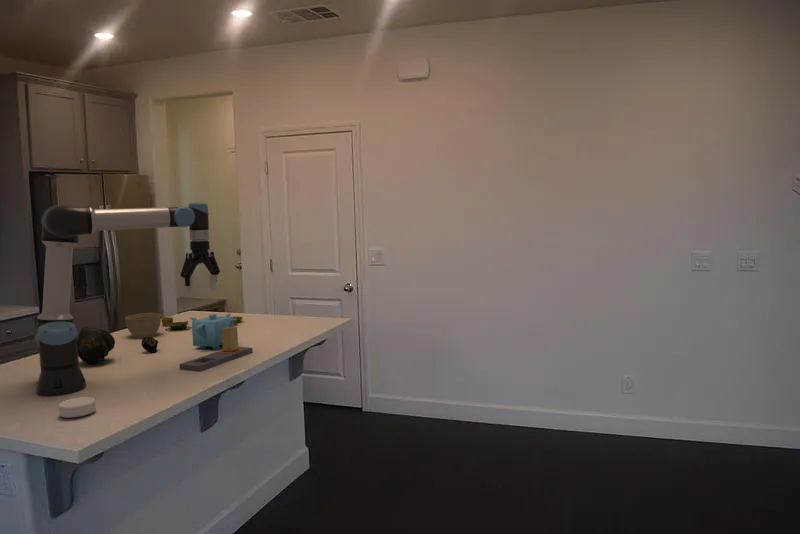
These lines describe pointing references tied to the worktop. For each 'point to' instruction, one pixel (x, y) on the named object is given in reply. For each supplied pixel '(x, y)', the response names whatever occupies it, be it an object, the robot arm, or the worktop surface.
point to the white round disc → (77, 407)
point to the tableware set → (183, 324)
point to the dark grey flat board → (214, 359)
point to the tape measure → (149, 344)
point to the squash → (94, 344)
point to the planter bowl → (143, 324)
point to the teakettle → (210, 330)
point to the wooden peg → (230, 339)
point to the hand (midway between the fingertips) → (201, 292)
